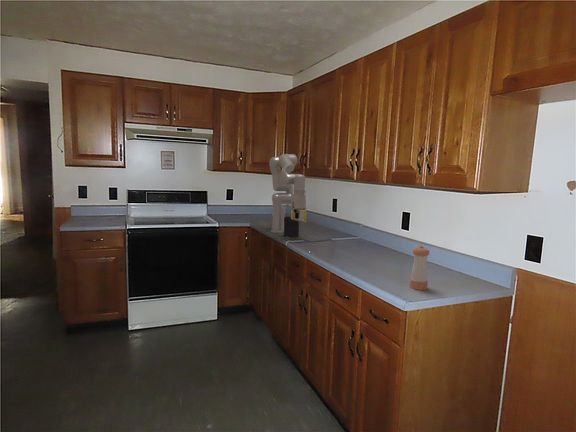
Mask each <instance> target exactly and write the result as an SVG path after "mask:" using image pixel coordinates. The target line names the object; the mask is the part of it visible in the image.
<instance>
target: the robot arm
mask: <svg viewBox="0 0 576 432" xmlns="http://www.w3.org/2000/svg"><path fill="white" fill-rule="evenodd" d="M298 161H299V160H298V156H297V155H296V154H295V153H294V154H293V153H291V154H290V153H282V154H280V155H279V156H272V157H271V158H270V160H269V169H270V172H271V179H272V181H271V182H272V189H273V191H275V193H273V194H272V196H271V203H272V226H271V229H270V232H271V233H274V234H284V217H286V216H285V215H286V210H285V208H284V206H285V205H290V207H291V208H290V211H291V210H293V211H294V212H295V218H296V219H298V218H299V213H298V209H301V210H307V207H306V206H307V199H306V194H305V193H306V192H307V191H306V189H305V187H306V175H304V174H300V173H292V172H293V171H294V170H295V167H296V165H297V164H298ZM280 168H282V169H280ZM283 205H284V206H283ZM294 208H295V209H294Z"/></svg>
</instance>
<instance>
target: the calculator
mask: <svg viewBox="0 0 576 432" xmlns="http://www.w3.org/2000/svg"><path fill="white" fill-rule="evenodd" d="M285 236H290V237H289V238H298V237H300V221H297V220H292V219H291V216H285V217H284V233H283V237H285Z"/></svg>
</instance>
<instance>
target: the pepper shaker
mask: <svg viewBox="0 0 576 432" xmlns="http://www.w3.org/2000/svg"><path fill="white" fill-rule="evenodd" d="M412 253H413V256H414V257H413V266H412V270H411V278H410V280H409V281H410V282H409V287H410V288H411V289H413V290H418V291H426V290H428V265H427V264H428V263H427V262H428V256H429V255H430V250H429V249H428V248H426V247H424V246H423V245H420V246H417V247H414V248H413V250H412Z"/></svg>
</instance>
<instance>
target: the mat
mask: <svg viewBox="0 0 576 432" xmlns="http://www.w3.org/2000/svg"><path fill="white" fill-rule="evenodd" d="M300 240H302V241H304V242H307V243H310V244H311V243H319V242H325V241H332V238H329V237H326V236H322V235H320V236H311V237H303V238H300Z"/></svg>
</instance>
